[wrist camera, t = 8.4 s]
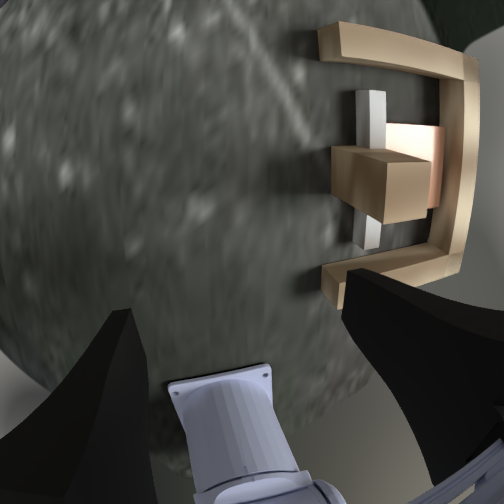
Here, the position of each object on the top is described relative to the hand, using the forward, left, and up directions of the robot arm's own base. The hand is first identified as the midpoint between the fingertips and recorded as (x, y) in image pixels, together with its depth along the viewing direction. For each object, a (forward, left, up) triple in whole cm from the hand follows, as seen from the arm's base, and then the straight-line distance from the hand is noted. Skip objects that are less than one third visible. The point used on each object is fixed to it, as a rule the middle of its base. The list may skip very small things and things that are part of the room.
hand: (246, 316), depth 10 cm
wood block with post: (+2, -10, -9) cm, 14 cm away
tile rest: (+2, -14, -9) cm, 17 cm away
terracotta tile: (+2, -14, -10) cm, 17 cm away
